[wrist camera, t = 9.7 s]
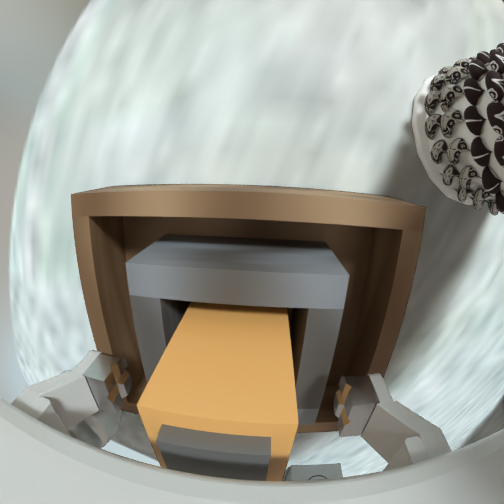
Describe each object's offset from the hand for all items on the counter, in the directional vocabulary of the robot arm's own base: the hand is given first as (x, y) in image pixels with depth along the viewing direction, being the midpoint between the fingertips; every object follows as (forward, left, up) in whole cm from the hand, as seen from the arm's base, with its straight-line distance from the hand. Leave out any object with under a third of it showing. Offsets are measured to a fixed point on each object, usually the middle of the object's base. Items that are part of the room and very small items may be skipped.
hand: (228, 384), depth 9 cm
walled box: (0, 0, -7) cm, 7 cm away
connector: (0, 0, -6) cm, 6 cm away
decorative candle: (-13, -11, -7) cm, 18 cm away
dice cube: (-7, +21, -7) cm, 23 cm away
